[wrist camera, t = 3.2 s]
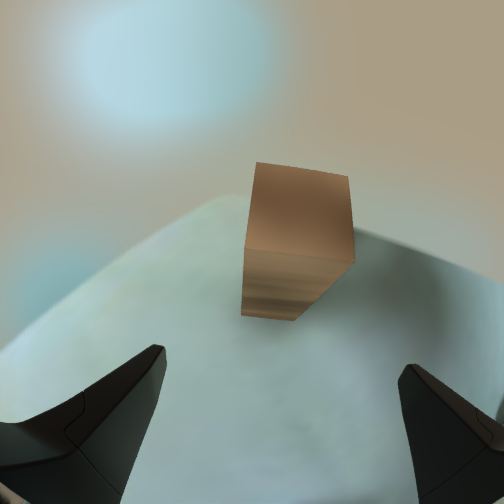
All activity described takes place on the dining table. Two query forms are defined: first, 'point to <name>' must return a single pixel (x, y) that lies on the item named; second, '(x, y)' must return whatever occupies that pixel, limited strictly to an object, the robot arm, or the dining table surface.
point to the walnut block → (294, 240)
